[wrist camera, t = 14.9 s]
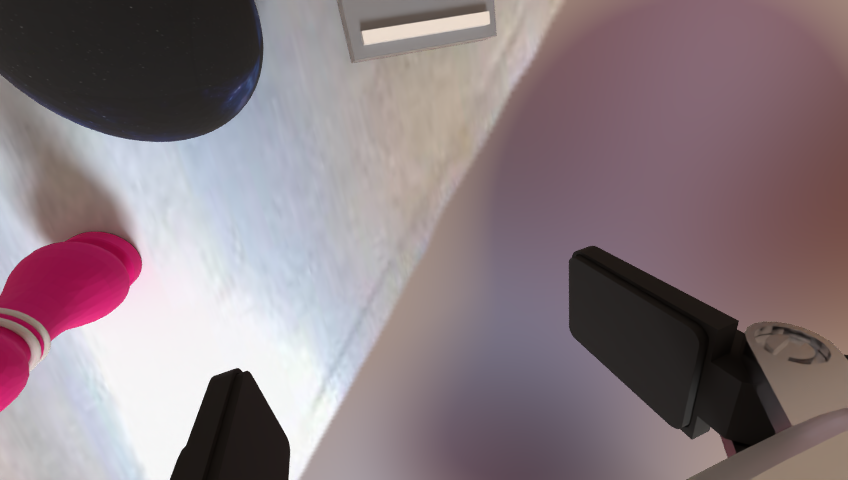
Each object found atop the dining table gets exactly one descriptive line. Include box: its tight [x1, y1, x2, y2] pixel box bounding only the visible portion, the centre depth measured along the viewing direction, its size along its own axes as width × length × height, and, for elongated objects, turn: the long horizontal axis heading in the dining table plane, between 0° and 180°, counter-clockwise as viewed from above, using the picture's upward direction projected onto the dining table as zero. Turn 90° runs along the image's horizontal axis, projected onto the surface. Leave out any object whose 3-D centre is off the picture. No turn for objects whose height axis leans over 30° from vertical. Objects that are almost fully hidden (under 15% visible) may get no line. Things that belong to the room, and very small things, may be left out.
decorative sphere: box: [0, 0, 263, 142], centre depth 22 cm, size 15×15×15 cm
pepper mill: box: [0, 232, 142, 412], centre depth 24 cm, size 7×7×20 cm
